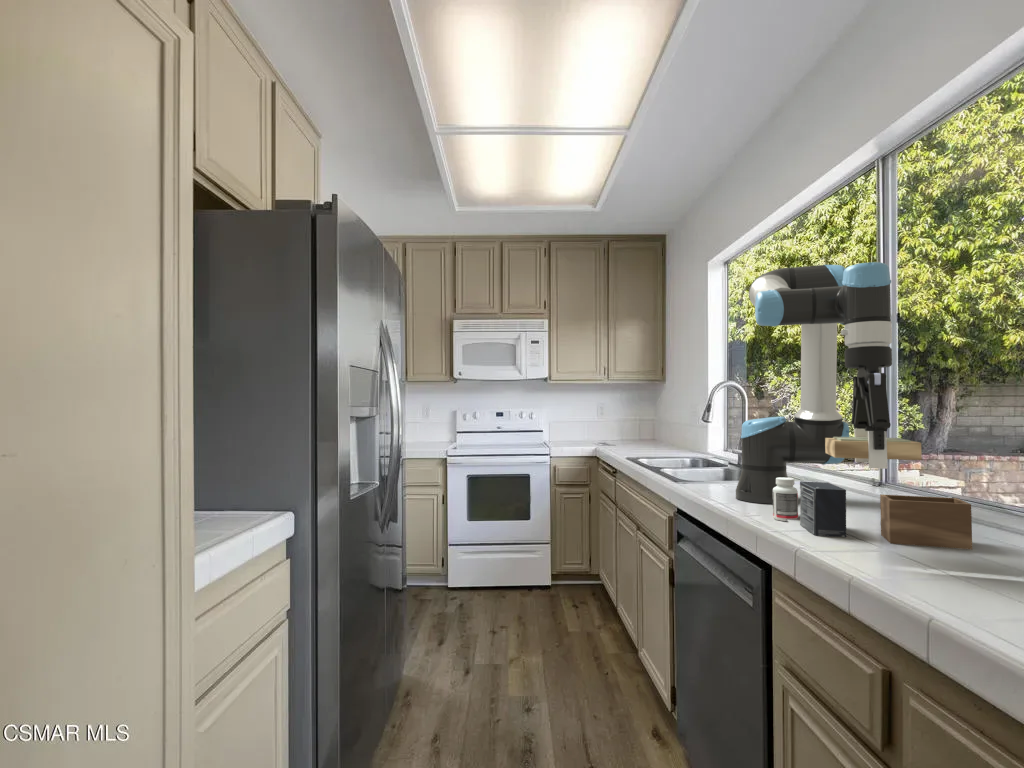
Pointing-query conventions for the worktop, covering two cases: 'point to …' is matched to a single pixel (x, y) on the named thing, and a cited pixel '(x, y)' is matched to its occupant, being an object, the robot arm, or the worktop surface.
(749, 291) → the robot arm
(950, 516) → the tea box
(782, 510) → the pill bottle
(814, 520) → the small box
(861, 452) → the lid
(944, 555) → the worktop surface
